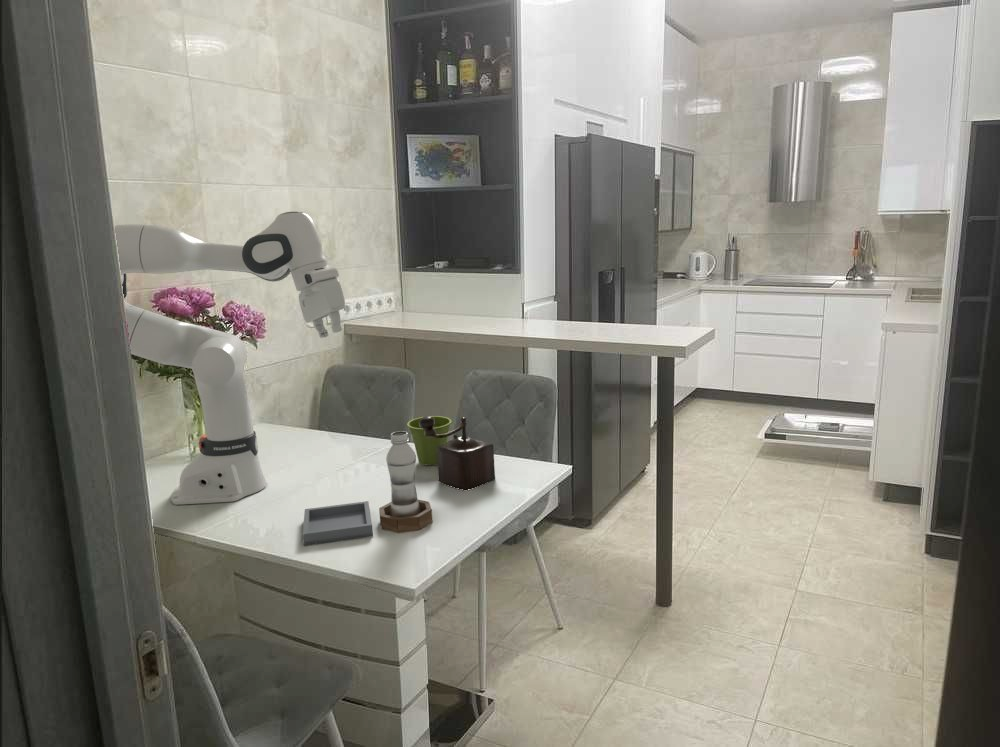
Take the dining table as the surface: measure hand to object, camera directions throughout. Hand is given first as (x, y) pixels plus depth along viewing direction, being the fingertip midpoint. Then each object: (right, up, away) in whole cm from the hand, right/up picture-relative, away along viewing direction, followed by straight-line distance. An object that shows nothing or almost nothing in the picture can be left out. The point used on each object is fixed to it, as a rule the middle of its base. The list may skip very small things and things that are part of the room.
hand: (331, 334), depth 177 cm
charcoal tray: (+5, -43, -16) cm, 46 cm away
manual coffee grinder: (+30, -37, +7) cm, 48 cm away
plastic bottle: (+20, -42, -15) cm, 48 cm away
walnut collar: (+20, -42, -15) cm, 48 cm away
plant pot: (+22, -33, +24) cm, 47 cm away
